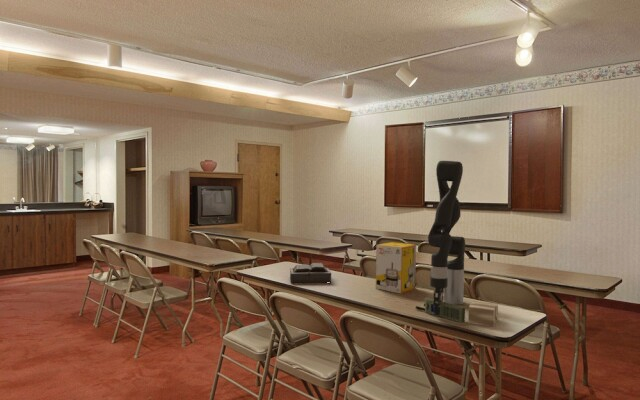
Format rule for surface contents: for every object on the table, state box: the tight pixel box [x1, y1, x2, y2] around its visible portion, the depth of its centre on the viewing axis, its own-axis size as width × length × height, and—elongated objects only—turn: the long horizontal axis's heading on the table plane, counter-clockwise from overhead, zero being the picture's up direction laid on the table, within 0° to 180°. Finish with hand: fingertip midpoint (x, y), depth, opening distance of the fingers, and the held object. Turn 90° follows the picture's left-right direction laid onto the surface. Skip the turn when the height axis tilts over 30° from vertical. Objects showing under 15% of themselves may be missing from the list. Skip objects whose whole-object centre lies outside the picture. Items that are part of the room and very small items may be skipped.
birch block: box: [467, 300, 499, 327], centre depth 194 cm, size 12×10×7 cm
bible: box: [289, 262, 332, 284], centre depth 273 cm, size 23×27×10 cm
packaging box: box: [375, 241, 417, 294], centre depth 254 cm, size 16×16×25 cm
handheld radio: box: [415, 297, 466, 323], centre depth 202 cm, size 7×3×25 cm
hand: (438, 312), depth 201 cm, fingers open, 7 cm apart
